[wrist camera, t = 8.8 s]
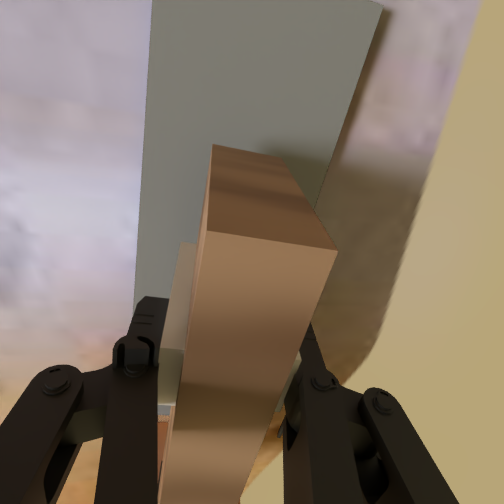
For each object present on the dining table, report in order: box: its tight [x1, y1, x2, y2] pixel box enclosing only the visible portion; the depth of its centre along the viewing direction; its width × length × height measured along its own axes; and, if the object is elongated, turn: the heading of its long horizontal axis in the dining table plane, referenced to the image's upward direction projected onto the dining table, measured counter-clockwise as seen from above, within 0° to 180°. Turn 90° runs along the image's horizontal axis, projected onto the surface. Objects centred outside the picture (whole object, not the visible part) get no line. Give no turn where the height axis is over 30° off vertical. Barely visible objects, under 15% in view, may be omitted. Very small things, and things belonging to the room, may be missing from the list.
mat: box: [133, 0, 384, 415], centre depth 20 cm, size 28×9×1 cm, turn 167°
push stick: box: [158, 144, 338, 504], centre depth 16 cm, size 23×3×8 cm, turn 168°
